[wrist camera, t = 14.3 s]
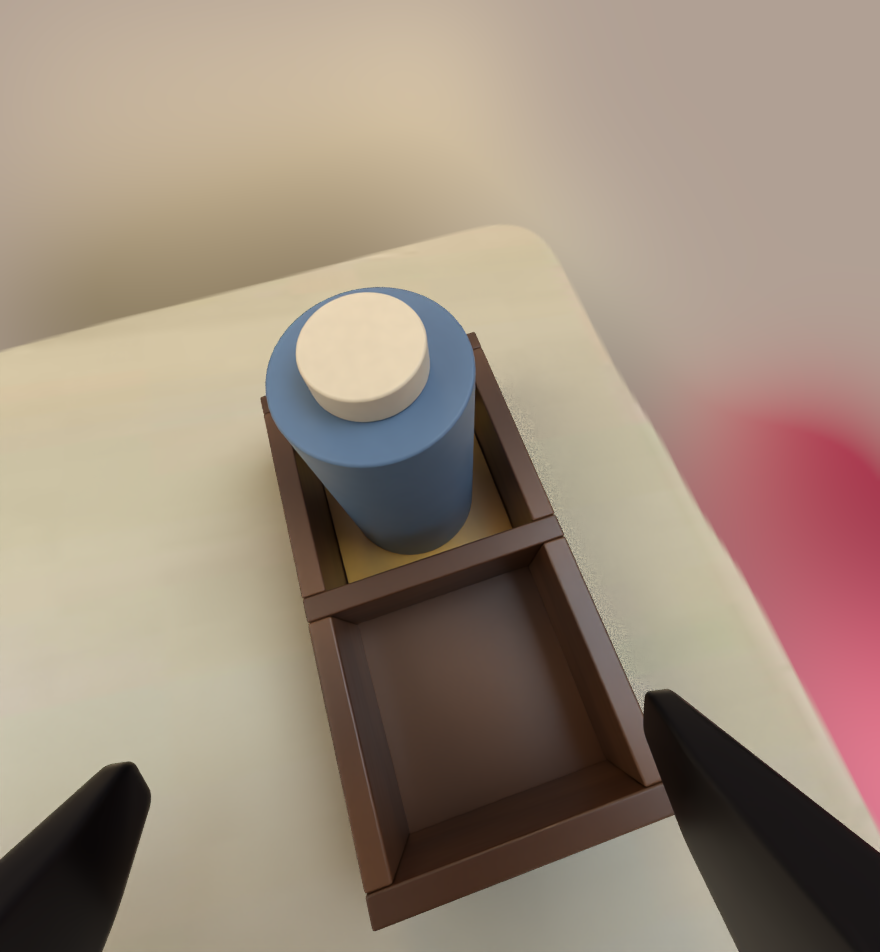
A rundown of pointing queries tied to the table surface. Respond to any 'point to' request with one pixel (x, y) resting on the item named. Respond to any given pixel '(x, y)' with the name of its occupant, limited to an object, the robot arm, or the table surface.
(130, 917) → the table surface
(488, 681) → the organizer
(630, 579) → the table surface
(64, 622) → the table surface
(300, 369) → the bottle
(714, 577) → the table surface
